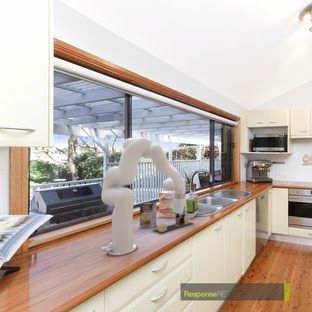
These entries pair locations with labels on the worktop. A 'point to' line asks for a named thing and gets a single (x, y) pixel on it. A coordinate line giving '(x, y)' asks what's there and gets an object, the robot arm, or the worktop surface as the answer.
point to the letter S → (178, 221)
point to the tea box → (191, 206)
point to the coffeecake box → (166, 204)
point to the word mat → (171, 226)
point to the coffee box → (147, 215)
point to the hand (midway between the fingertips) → (179, 222)
